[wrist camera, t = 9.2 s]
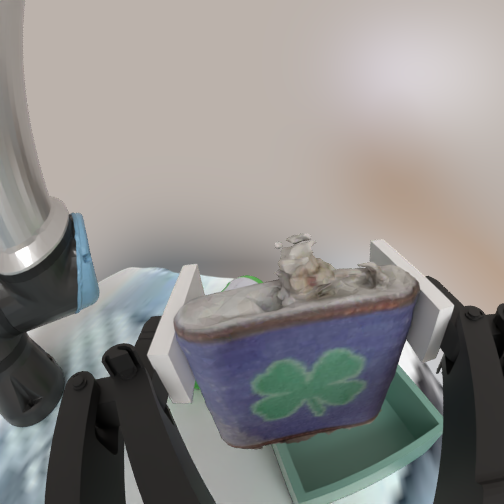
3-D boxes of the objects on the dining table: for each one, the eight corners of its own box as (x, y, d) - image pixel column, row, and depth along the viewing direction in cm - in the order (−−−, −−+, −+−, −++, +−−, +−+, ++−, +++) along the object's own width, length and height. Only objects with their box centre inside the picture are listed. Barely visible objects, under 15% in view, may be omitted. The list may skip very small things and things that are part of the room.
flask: (222, 453, 11) (146, 285, 7) (222, 412, 14) (167, 246, 10) (388, 419, 12) (441, 239, 7) (371, 384, 14) (398, 214, 10)
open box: (266, 430, 24) (260, 401, 21) (378, 389, 26) (389, 354, 23) (297, 514, 14) (298, 503, 12) (425, 452, 16) (449, 424, 14)
